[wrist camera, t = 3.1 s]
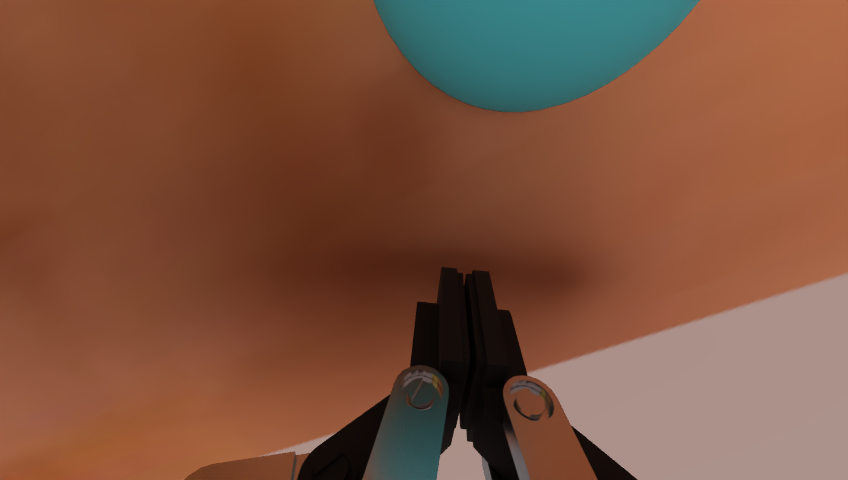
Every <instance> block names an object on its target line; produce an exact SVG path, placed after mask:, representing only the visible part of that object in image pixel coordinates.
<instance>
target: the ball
mask: <svg viewBox="0 0 848 480" xmlns="http://www.w3.org/2000/svg"><path fill="white" fill-rule="evenodd" d="M699 1H700V0H374V3H375V6H376V8H377V11H378V13H379V15H380V17H381V19H382V21H383V23H384V25H385V27H386V29H387V31H388V33H389V35H390V36H391V38H392V39H393V41H394V42H395V44H396V45H397V47H398V48H399V50H400V51H401V53H402V54H403V55H404V57H405V58H406V59H407V60H408V61H409V62H410V63H411V65H412V66H413V67H414V68H415V69H416V70H417V71H418V72H419V73H420V74H421V75H422V76H423V77H424V78H425V79H427V80H428V81H429V82H430V83H431V84H432V85H434V86H435V87H437V88H438V89H440V90H441V91H443V92H444V93H446V94H447V95H449V96H451V97H453V98H456V99H458V100H460V101H462V102H464V103H466V104H470V105H473V106H476V107H479V108H483V109H488V110H494V111H500V112H526V111H534V110H542V109H545V108H549V107H553V106H557V105H561V104H564V103H567V102H570V101H572V100H575V99H577V98H580V97H582V96H585V95H588V94H589V93H591V92H593V91H595V90H597V89H599V88H601V87H603V86H604V85H606V84H608V83H610V82H611V81H613V80H614V79H616V78H617V77H619V76H620V75H622V74H623V73H625V72H626V71H627V70H629V69H630V68H632V67H633V66H634V65H636V64H637V63H638V62H639V61H641V60H642V59H643V58H644V57H645V56H647V55H648V54H649V53H650V52H651V51H653V50H654V49H655V48H656V47H657V46H659V45H660V44H661V43H662V42H663V41H664V40H665V39H666V38H667V37H668V36H669V35H670V34H671V33H672V32H673V31H674V30H675V29H676V28H677V27H678V26H679V25H680V23H681V22H682V21H683V20H684V19H685V17H686V16H687V15H688V14H689V13H690V11H691V10H692V9H693V8H694V7H695V5H696V4H697V3H698V2H699Z"/></svg>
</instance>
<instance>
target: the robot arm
mask: <svg viewBox="0 0 848 480" xmlns="http://www.w3.org/2000/svg"><path fill="white" fill-rule="evenodd" d="M459 413H460V428H461V429H466V430H467V441H469V442H473V447H474V448H475V449H476V450H477V451H478V453H480V455H481V456H482V466H483V470H484V475H485V479H486V480H637V479H636V478H635V477H634V476H632V475H631V474H630V473H629V472H628V471H626V470H625V469H624V468H623V467H621V466H620V465H619V464H618V463H617V462H615V461H614V460H613V459H612V458H610V457H609V456H608V455H607V454H605V453H604V452H603V451H602V450H601V449H599V448H598V447H597V446H596V445H595V444H593V443H592V442H591V441H589V440H588V439H587V438H586V437H585V436H584V435H582V434H581V433H580V432H579V431H577V430H576V429H575V428H573V426H571V425H570V423H569V421H568V419H567V417H566V415H565V413H564V411H563V409H562V407H561V405H560V403H559V401H558V399H557V397H556V396H555V394H554V393H553V391H552V390H551V389H550V388H549V387H548V386H547V385H546V384H544V383H543V382H541V381H540V380H538V379H536V378H533V377H530V376H527V372H526V368H525V365H524V361H523V357H522V354H521V350H520V346H519V342H518V339H517V335H516V331H515V328H514V324H513V320H512V317H511V314H510V312H509V311H508V310H497V306H496V301H495V297H494V292H493V288H492V283H491V279H490V274H489V272H486V271H476V270H473V271H472V274H467V275H466V279H465V285H464V283H463V274H462V273H457V269H455V268H445V267H442V268H441V275H440V283H439V290H438V298H437V304H436V303H426V302H417V310H416V319H415V328H414V337H413V346H412V355H411V364H410V367H409V368H407V369H405V370H403V371H402V372H401V373H400V374H399V375H398V377H397V378H396V380H395V382H394V385H393V388H392V391H391V394H390V395H389V396H387V397H386V398H384V399H383V400H382V401H380V402H379V403H377V404H376V405H375V406H373V407H372V408H371V409H369V410H368V411H366V412H365V413H364V414H362V415H361V416H359V417H358V418H357V419H355V420H354V421H352V422H351V423H350V424H348V425H347V426H345V427H344V428H343V429H341V430H340V431H338V432H337V433H336V434H334V435H333V436H332V437H330V438H329V439H327V440H326V441H325V442H323V443H322V444H320V445H319V446H318V447H316V448H315V449H314V450H313V451H312V452H311V453H307V454H301V455H296V453H295V452H289V453H282V454H276V455H269V456H262V457H256V458H249V459H243V460H236V461H229V462H223V463H216V464H211V465H208V466H205V467H202V468H200V469H198V470H197V471H195V472H194V473H192V474H191V475H189V476H188V477H187V478H186V479H185V480H436V478H437V471H438V465H439V458H440V455H441V454H442V453H443V452H444V451H445V450H446V449H447V448H448V447H449V446H450V445H451V441H452V437H453V433H454V428H456V424H457V420H458V416H459Z"/></svg>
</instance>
